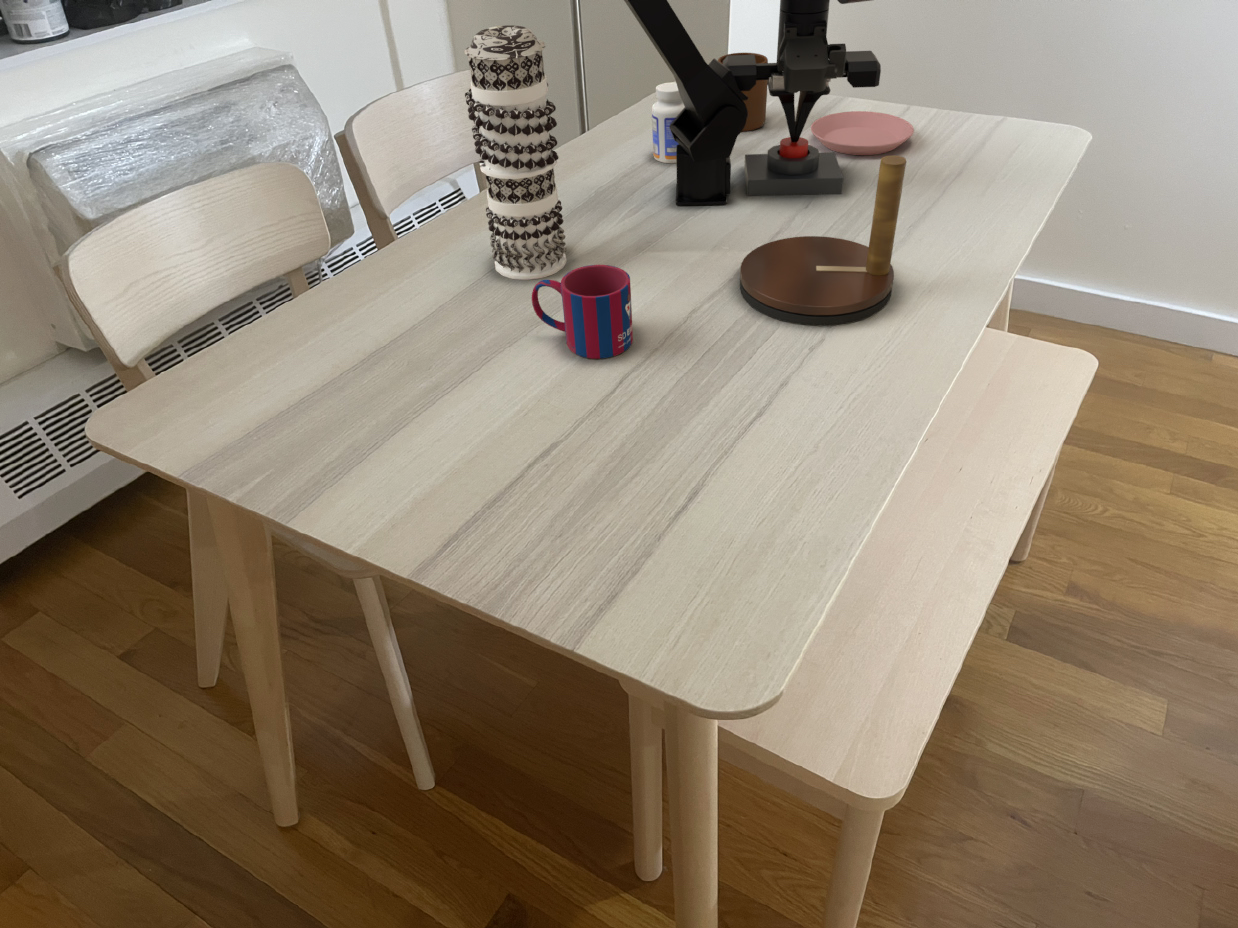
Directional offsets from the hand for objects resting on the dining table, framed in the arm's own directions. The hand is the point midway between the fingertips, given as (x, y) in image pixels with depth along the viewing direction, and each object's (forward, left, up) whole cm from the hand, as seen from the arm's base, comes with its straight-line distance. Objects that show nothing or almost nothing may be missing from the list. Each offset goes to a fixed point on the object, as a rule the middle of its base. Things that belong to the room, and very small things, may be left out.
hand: (794, 140), depth 115 cm
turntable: (0, -29, -4) cm, 29 cm away
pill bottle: (-16, +10, -6) cm, 20 cm away
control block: (0, 0, -6) cm, 6 cm away
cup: (-24, -39, -6) cm, 46 cm away
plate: (+11, +14, -6) cm, 19 cm away
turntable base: (0, -29, -5) cm, 30 cm away
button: (0, 0, -2) cm, 2 cm away
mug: (-7, +21, -6) cm, 23 cm away
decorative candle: (-32, -22, -6) cm, 39 cm away
